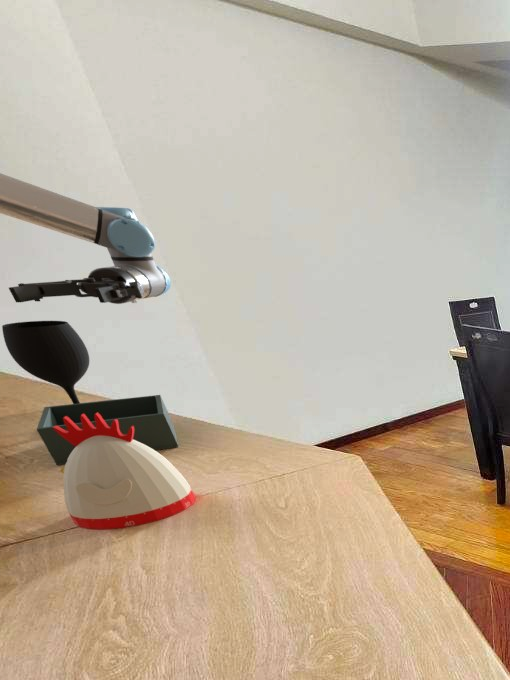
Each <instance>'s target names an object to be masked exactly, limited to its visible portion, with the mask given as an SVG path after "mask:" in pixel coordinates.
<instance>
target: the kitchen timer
mask: <svg viewBox="0 0 510 680" xmlns="http://www.w3.org/2000/svg"><path fill="white" fill-rule="evenodd" d="M94 417H95V423H96V428H95V427H94V426H93V425H92V423H91V422H90V421H89V419H88V418H87V416H86V415H85V414H84V413H83V414H82V415H81V423H82V427H83V429H80V428H79V427H78V426H77V425H76V424H75V423H74V422H73V421H72V420H71V419H70V418H69V417H67V416H65V417H64V418H63V421H64V423H65V425H66V427H67V429H68V431H69V432H68V431H66V430H64V429H62V428H60V427H58V426H54V427H53V429H54V430H55V431H56V432H57V433H58V434H60V435H61V436H62V437H64V438H65V439H66V440H68V441H69V442H70V443H72V444H73V445H74V446H76V447H75V448H74V450H73V451H72V452H71V454H70V455H69V457H68V459H67V460H66V464H64V466H63V467H62V469H61V470H60V473H62V474H63V476H62V477H63V480H62V482H63V483H62V485H63V494H64V503H65V506H66V510H67V512H68V515H69V516H70V518H71V519H72V521H73V523H74V524H75V525H76V526H78V527H79V528H82V529H88V530H113V529H121V528H122V529H123V528H129V527H134V526H135V527H136V526H140V525H144V524H148V523H153V522H156V521H160V520H163V519H165V518H169V517H172V516H174V515H176V514H179V513H181V512H184V511H185V510H186V509H188V508H189V507H191V506H192V505H193V504H194V503H195V502H196V496H195V494H194V492H193V490H192V487H191V485H190V483H189V482H188V481H187V479H186V478H185V477H184V476H183V474H182V473H181V472H180V471H179V470H178V469H177V468H176V467H175V466H174V465H173V464H172V462H170V461H169V460H168V459H167V458H166V457H165V456H163V455H162V454H161V453H160V452H158V451H157V450H153V449H152V448H150V447H148V446H146V445H144V444H142V443H140V442H138V441H136V440H133V437H134V426H132V427H131V428H130V429H129V432H128V434H126V435H124V434H122V433H121V432H120V430H119V423H118V420H117V419H115V420H114V421H113V422H112V425H111V428H110V427H109V426H108V425H107V424H106V422H105V421H104V419H103V418H102V417H101V415H100V414H99V413H98V412H97V413H96V414H95V415H94Z"/></svg>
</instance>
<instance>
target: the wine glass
mask: <svg viewBox="0 0 510 680" xmlns="http://www.w3.org/2000/svg"><path fill="white" fill-rule="evenodd" d="M1 327H2V329H1V330H2V335H3V336H2V337H3V339H4V343H5V346H6V349H7V350H8V353H9V354H10V356H11V357H12V359H13V360H14V361H15V363H16V364H17V365H18V366H19V367H21V369H23V370H24V371H25V372H27V373H28V374H30V375H32V376H33V377H36V378H37V379H40V380H42V381H44V382H47V383H50V384H52V385H55V386H58V387H61V388H62V389H63V390H64V391H65V392H66V394H67V395H68V397H69V399H70V400H71V402H72V404H78V403H81V402H80V400H79V398H78V395H77V393H76V390H75V385H76V384H77V383H78V382H79V381H80V380H81V379H83V377H84V376H85V374H86V373H87V371H88V369H89V366H90V354H89V351H88V348H87V346H86V344H85V343H84V341H83V339H82V338H81V336H80V335H79V334H78V333H77V331H76V330H75V329H74V328H73V326H72V325H70V323H69V322H68V321H65V320H64V321H63V320H31V321H19V322H11V323H6V324H3V325H2V326H1Z"/></svg>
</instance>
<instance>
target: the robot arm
mask: <svg viewBox="0 0 510 680" xmlns="http://www.w3.org/2000/svg"><path fill="white" fill-rule="evenodd" d="M0 214H2V215H5V216H8V217H11V218H14V219H17V220H21V221H23V222H26V223H29V224H33V225H36V226H39V227H41V228H45V229H49V230H51V231H54V232H57V233H61V234H63V235H68V236H70V237H74V238H77V239H80V240H82V241H86V242H89V243H92V244H95V245H97V246H101V247H104V248H106V250H107V251H108V253H109V255H110V259H111V261H112V263H113V265H111V266H105V267H98V268H94V269H92V270H91V271H90V272H89V274H88V277H83V278H80V279H65V280H58V281H57V280H56V281H44V282H29V283H24V282H23V283H22V282H21V283H18V284H17V286H9V287H8V290H9V292H10V294H11V295H12V298H13V299H14V301H15V303H26V302H32V301H35V302H41V299H44V298H52V297H66V296H68V297H69V296H75V297H77V298H90V297H92V298H98V300H99V302H100V304H105V303H110V304H114V305H122V304H126V303H131V304H137V303H138V300H139V301H140V300H144V299H148V298H156V297H159V296H162V295H164V294H166V293H167V292H168V291H170V289H171V285H172V282H171V278H170V276H169V274H168V273H167V271H166V270H164V269H163V268H162V267H161V266H159V265H157V264H156V262H155V259H154V257H153V255H152V253H153V251H154V250H155V248H156V241H155V238H154V236H153V234H152V232H151V231H150V230H149V228H147V226H146V225H144V224H142V223H141V222H140V221H139V220H138V218H137V216H136V214H135V212H134V211H133V210H132V209H131V208H129V207H114V206H113V207H111V206H107V207H106V206H94V205H91V204H88V203H85V202H82V201H79V200H77V199H74V198H71V197H69V196H65V195H63V194H60V193H57V192H54V191H53V190H49V189H46V188H44V187H40V186H38V185H35V184H32V183H30V182H26V181H23V180H21V179H18V178H15V177H12V176H9V175H7V174H4V173H1V172H0Z"/></svg>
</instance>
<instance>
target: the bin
mask: <svg viewBox="0 0 510 680" xmlns="http://www.w3.org/2000/svg"><path fill="white" fill-rule="evenodd" d="M97 412H98V413H99V414H100V415H101V417H102V418H103V419H104V421H105V422H106V424H107V425H108V426H109V427H110V428H111V425H112V422H113V421H114V420H115V419H117V420H118V423H119V430H120V432H121V433H122V434H124V435H126V434H128V432H129V429H130V428H131V427H132V426H134V437H133V440H136V441H138V442H140V443H142V444H144V445H146V446H148V447H150V448H152V449H153V450H155V451H161V450H169V449H174V448H175V449H176V448H179V442H178V438H177V434H176V429H175V425H174V422H173V420H172V418H171V416H170V413H169V411H168V409H167V406H166V405H165V402H164V400H163V398H162V396H161V394H156V395H147V396H146V395H145V396H137V397H126V398H118V399H116V398H115V399H107V400H98V401H89V402H80V403H78V404H73V403H70V404H69V403H68V404H60V405H59V404H58V405H51V406H44V407H43V410H42V413H41V416H40V418H39V422H38V424H37V427H36V432H37V433H38V435H39V437H40V438H41V440H42V442H43V443H44V445H45V447H46V449H47V451H48V452H49V455H50V456H51V458H52V460H53V462H54V463H55V465H56V466H60V465H66V460H67V459H68V457H69V455H70V454H71V452H72V451H73V450H74V448H75V447H76V446H74V445H73V444H72V443H70V442H69V441H68V440H66V439H65V438H64V437H62V436H61V435H60V434H58V433H57V432H56V431H55V430H54V429H53V427H54V426H58V427H60V428H62V429H64V430H66V431H68V429H67V427H66V425H65V423H64V421H63V418H64V417H65V416H67V417H69V418H70V419H71V420H72V421H73V422H74V423H75V424H76V425H77V426H78V427H79V428H80V429H83V427H82V423H81V415H82V414H83V413H84V414H85V415H86V416H87V418H88V419H89V421H90V422H91V423H92V425H93V426H94V427H95V428H96V423H95V417H94V415H95V414H96V413H97ZM68 432H69V431H68Z"/></svg>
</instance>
